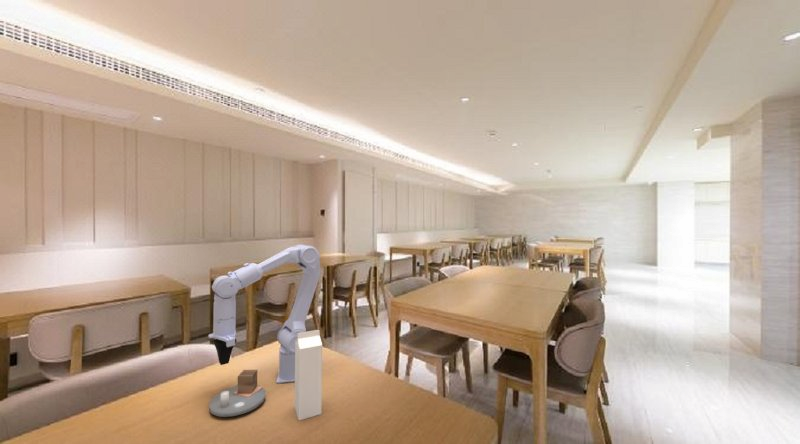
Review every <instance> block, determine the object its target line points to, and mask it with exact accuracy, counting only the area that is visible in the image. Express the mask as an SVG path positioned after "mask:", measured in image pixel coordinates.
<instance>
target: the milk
mask: <svg viewBox="0 0 800 444" xmlns="http://www.w3.org/2000/svg"><path fill="white" fill-rule="evenodd" d="M320 332H321V331H320V330H319V329H314V330H309V331H306V332H302V333H298V339H297V340H296V341H295V381H294V408H293V409H294V411H295V415H296V417H297V420H298V421H302V420H306V419H310V418H312V417H315V416H319V415H322V399H323V398H322V396H323V395H322V393H323V392H322V391H323V390H322V389H323V386H322V384H323V381H322V380H323V342H322V339H321V336H320V335H321V333H320Z"/></svg>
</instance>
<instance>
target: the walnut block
mask: <svg viewBox="0 0 800 444" xmlns="http://www.w3.org/2000/svg"><path fill="white" fill-rule="evenodd" d="M237 385H238V394H252V393H253V391H254V390H255V389H256V387H257V385H258V369H242V371H241V372H240V373H239V375H237Z"/></svg>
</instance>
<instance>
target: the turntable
mask: <svg viewBox="0 0 800 444" xmlns="http://www.w3.org/2000/svg"><path fill="white" fill-rule="evenodd" d="M265 399H266V389H265V387H264V386H262V385H259V384H257V387H256V389H255V390H254V391H253V393H252V394H238V384H237V385H234V386H230V387H227V388H225V389H223V390H221V391H220V392H218V393H216V394H215V395H214V396H213V397H212V398H211V399H210V401H209V403H208V404H209V405H208V407H209V408H208V409H209V412H210V413H211V415H214V416H217V417H221V418H222V417H223V418H227V417H228V418H229V417H235V416H239V415H243V414H246V413H249V412H251V411H253V410H255V409H256V408H258V407H259V406H261V405H262V404H263V403H264V401H265Z"/></svg>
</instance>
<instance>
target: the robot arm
mask: <svg viewBox="0 0 800 444" xmlns="http://www.w3.org/2000/svg"><path fill="white" fill-rule="evenodd" d="M320 259H321V254H320V252H319V251H318V249H317V248H316V247H314V246H313V245H307V244H306V245H305V244H302V243H299V244H298V243H297V244H295V245H294V246H290V247H288V248H286V249H284V250H282V251H280V252H278V253H276V254H275V255H273V256H271V257H269V258H267V259H266V260H263V261H262V262H260V263H258V264H257V263H256V262H255V263H254V262H251V263H248V262H246V263H244V264H243V266H242V267H240V268H238V269H235V270H234V271H228V272H227V275H220V276H217V277H216V278H215V280H214V281H213V283H212V285H211V288H212V291H213V292H214V297H213V300H214V301H213V318H212V319H213V320H212V321H213V323H212V324H213V326H212V328H213V329H212V331H213V332H212V333H208V336H207V337H208V339H212V340H211V341H212V343H213V345H214V347H215V350H216V353H217V358H218V362H219V365H220V366H222V365H223V366H224V365H227V364H229V362H230V359H231V354H232V352H233V348H234V347H235V346H236V343H237V339H236V335H237V330H236V325H237V323H236V322H237V321H236V318H237V315H236V314H237V311H236V310H237V309H236V308H237V300H236V295H237V293H238V292H239V290H242V289H244V288H246V287H248V286H250V285H251V284H254V283H256V282H257V281H260V280H261V279H262V277H263V275H264V273H266V272H270V271H271V270H273V269H276V268H277V267H281V266H282V265H285V264H287V263H293V264H294V263H295V264H297V265H298V266H299V267H300V268H301V270H302V272H303V277H302V279H301V281H300V285H299V288H298V291H297V294H296V297H295V299H294V302H293V305H292V309H291V312H290V313H289V314H290V315H289V317H288V319H287V320H285V322H284V323H283V326H282V327H281V329H280V330H279V331H278V333H277V336H276V338H277V341H278V343H279V344H280V347H279V350H278V351H279V354H278V358H279V360H278V374H277V379H276V382H275V383H276V384H283V383H291V382H295V341H296V340H297V339H298V333H302V332H307V329H306V323H305V322H306V319H307V317H308V314H309V310H310V308H311V305H312V302H313V298H314V295H315V292H316V289H317V286H318V283H319V280H320V278H321V277H320V276H321V274H322V268H321V261H320Z"/></svg>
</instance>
